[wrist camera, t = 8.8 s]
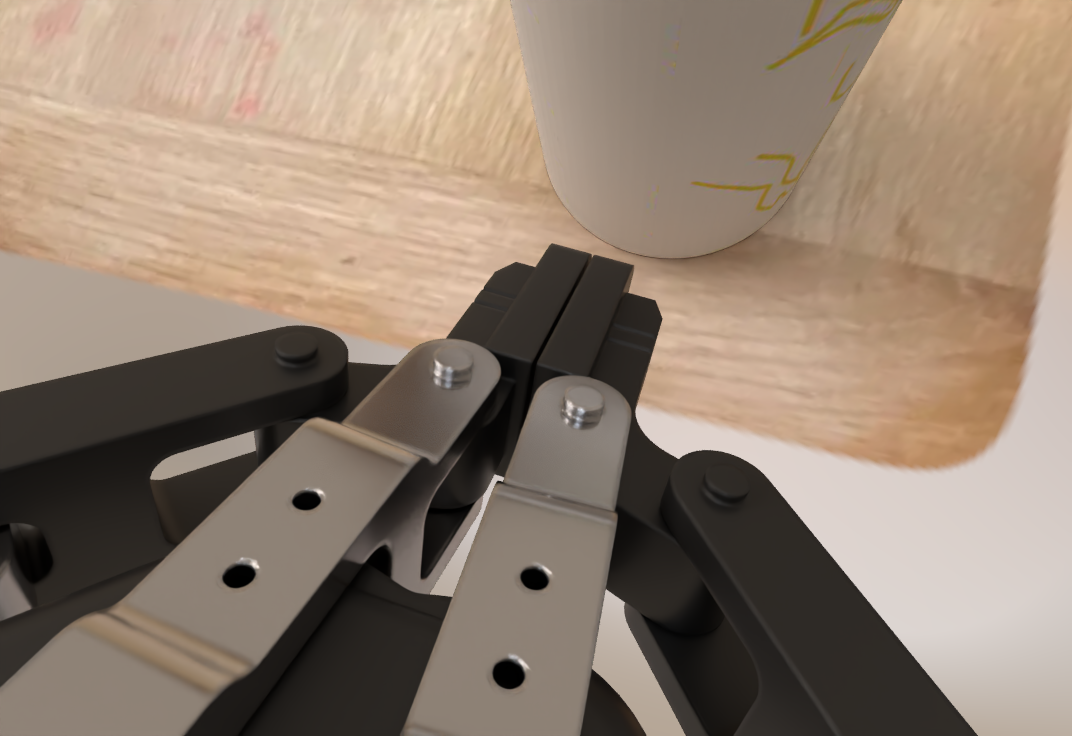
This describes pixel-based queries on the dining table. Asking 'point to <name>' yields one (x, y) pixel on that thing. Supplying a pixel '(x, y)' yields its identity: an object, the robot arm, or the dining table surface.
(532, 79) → the beige solid cylinder
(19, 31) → the dining table surface
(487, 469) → the robot arm
